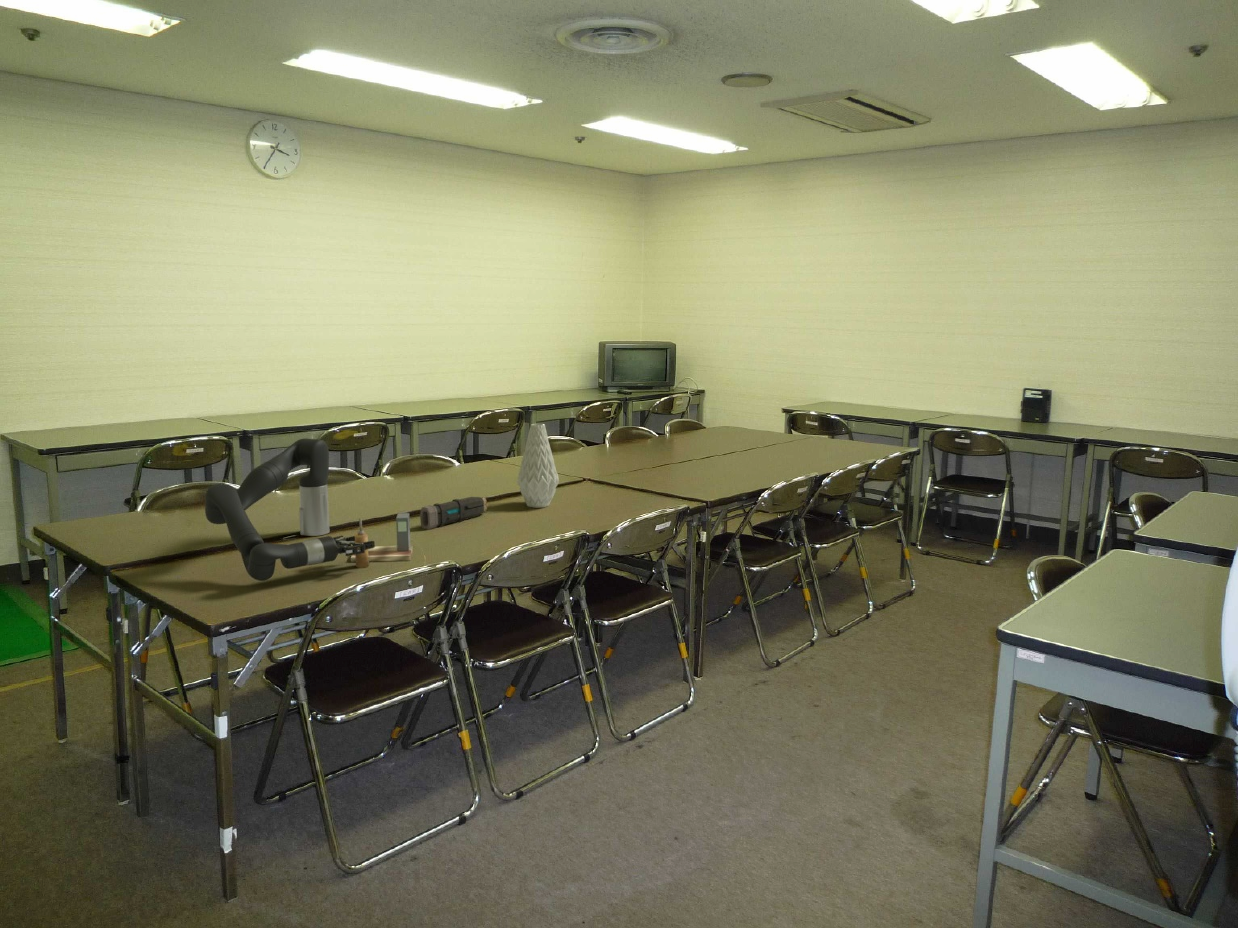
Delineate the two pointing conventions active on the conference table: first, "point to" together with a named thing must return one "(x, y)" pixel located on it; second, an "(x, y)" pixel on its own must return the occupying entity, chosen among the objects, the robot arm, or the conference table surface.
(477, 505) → the tube
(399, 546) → the block
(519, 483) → the vase
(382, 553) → the board
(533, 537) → the conference table surface
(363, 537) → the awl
